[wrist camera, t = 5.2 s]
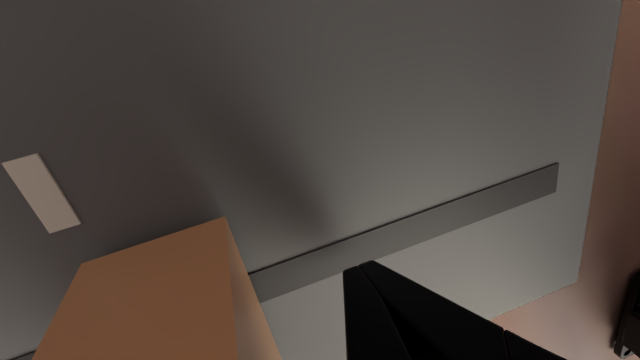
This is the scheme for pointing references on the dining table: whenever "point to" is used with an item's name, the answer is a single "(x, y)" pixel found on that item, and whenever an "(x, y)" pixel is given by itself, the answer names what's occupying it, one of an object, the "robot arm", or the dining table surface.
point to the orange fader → (163, 304)
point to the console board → (302, 146)
